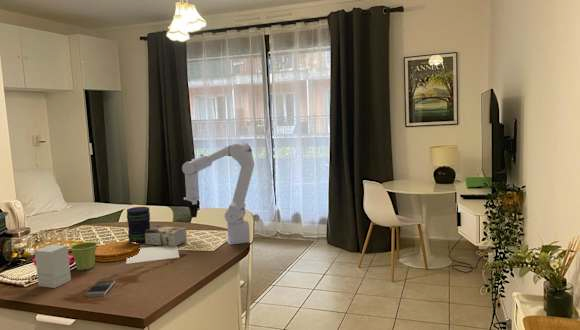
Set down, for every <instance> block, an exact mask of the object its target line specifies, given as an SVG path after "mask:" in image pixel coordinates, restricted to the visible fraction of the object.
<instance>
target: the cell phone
mask: <svg viewBox="0 0 580 330" xmlns="http://www.w3.org/2000/svg"><path fill="white" fill-rule="evenodd" d="M115 284H116V281H115V280H101V281H96V282H95V283H94V284H93V285H92V286H91V288H90V289H89V290H87V291H86V293H85V296H86V297H87V298H94V297H98V298H99V297H104V296H106V295H107V294H108V293H109V291H110V290H111V289H112V287H114V285H115Z"/></svg>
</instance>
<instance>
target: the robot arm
mask: <svg viewBox="0 0 580 330" xmlns="http://www.w3.org/2000/svg"><path fill="white" fill-rule="evenodd" d="M224 157H231V158H233V159H234V160H235V161H236V162H238V164H239V166H240V170H239V175H238V179H237V182H236V186H235V190H234V194H233V197H232V201H231V203H230V204H229V206H228V209H227V210H226V211H225V213H224V219H225V221H226V222H227V238H226V242H227V244H228V245H238V244H247V243H251V239H250V238H251V237H250V236H251V235H250V234H251V233H250V223H249V221H248V220H245V219H244V217H245V215H246V203H245V201H246V199H247V198H246V197H247V195H248V194H247V193H248V190H249V185H250V183H251V179H252V175H253V171H254V167H255V160H254V156H253V149H252V147H251V146H250V145H249V144H248V143H247V142H239V143H234V144H232V145H228V146H225V147H223V148H221V149H218V150H217V151H214V152H213V153H211V154H207V153H202V154H200V155H199V156H198V157H196V158H192V159H191V161H185V162H184V163H183V164H182V166H181V170H182V173H183V174H184V179H185V180H184V184H185V196H186V197H183V200H184V201H186V204H187V206H188V209H189V212H190V217H191V219H193V218H197V215H198V208H199V207H200V204H201V202H200V188H199V172H200V171H203V170H204V169H206V168H209V167H211V166H212V164H213V162H215V161H216V160H219V159H222V158H224Z"/></svg>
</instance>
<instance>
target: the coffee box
mask: <svg viewBox="0 0 580 330" xmlns="http://www.w3.org/2000/svg"><path fill="white" fill-rule="evenodd" d="M187 241H188V240H187V227H174V226H162V225H156V226H154V227H150V229H147V230H145V243H144V245H151V246H152V245H153V246H154V245H155V246H156V245H157V246H173V247H175V246H177V247H178V246H180V245H182V244H183V243H186V242H187Z"/></svg>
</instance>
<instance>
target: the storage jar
mask: <svg viewBox="0 0 580 330" xmlns="http://www.w3.org/2000/svg"><path fill="white" fill-rule="evenodd" d="M126 219H127V221H126V222H127V223H128V225H127V227H128V231H127V233H128V237H127V238H128V242H129V241H130V242H136V243H139V244H138V245H143V244H144V245H145V230H147V229H150V228H151V223H150V222H151V221H150V220H151V213H150V207H148V206H135V207H130V208H127V209H126Z"/></svg>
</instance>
